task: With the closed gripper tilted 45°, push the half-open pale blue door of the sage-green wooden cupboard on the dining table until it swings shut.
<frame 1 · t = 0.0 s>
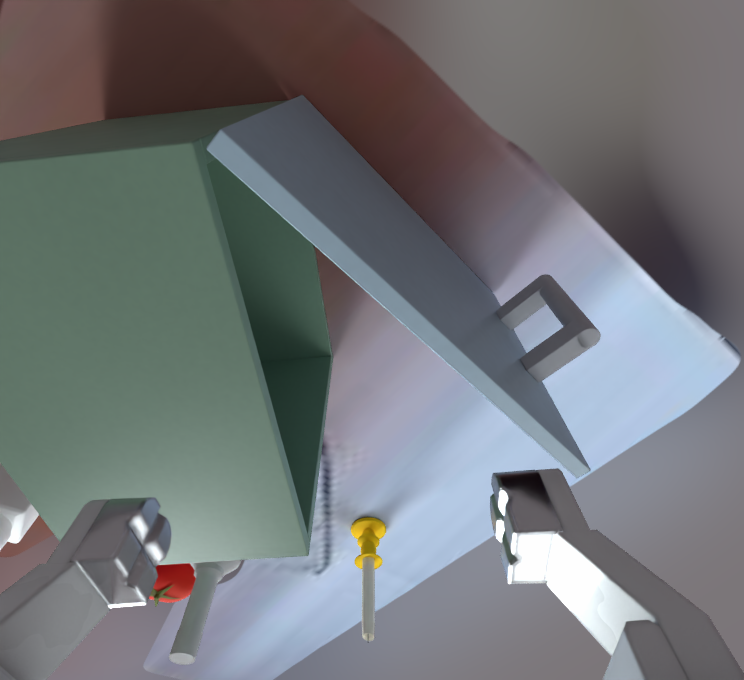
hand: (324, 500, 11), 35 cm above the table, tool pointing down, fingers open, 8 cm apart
cupboard: (235, 256, 44), on the table
bottle: (252, 435, 57), on the table
tomato: (185, 521, 66), on the table
medicine bottle: (28, 474, 60), on the table
shower door: (446, 229, 31), point 12 cm above the table, hinge at 40.0°
candle: (368, 526, 67), on the table
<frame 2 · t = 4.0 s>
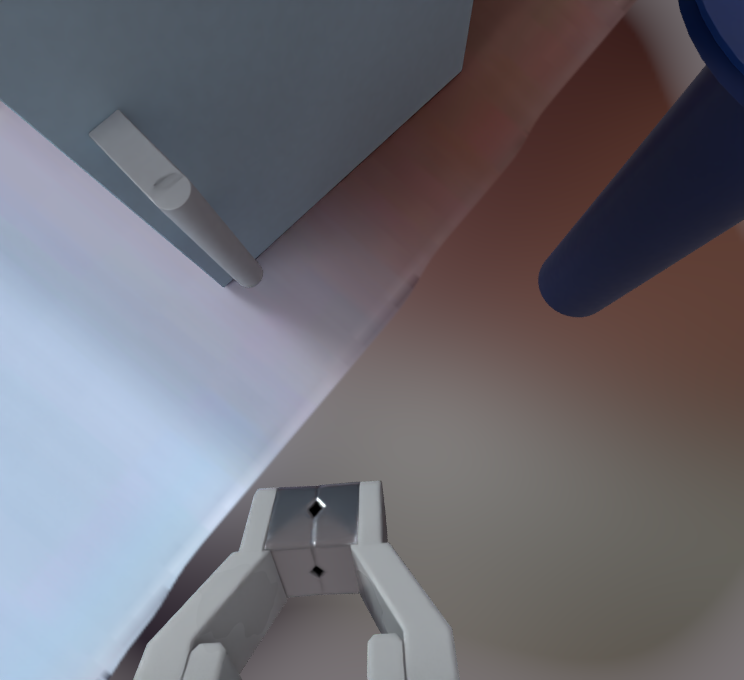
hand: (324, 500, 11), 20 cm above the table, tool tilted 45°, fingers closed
shower door: (349, 68, 23), point 12 cm above the table, hinge at 40.0°
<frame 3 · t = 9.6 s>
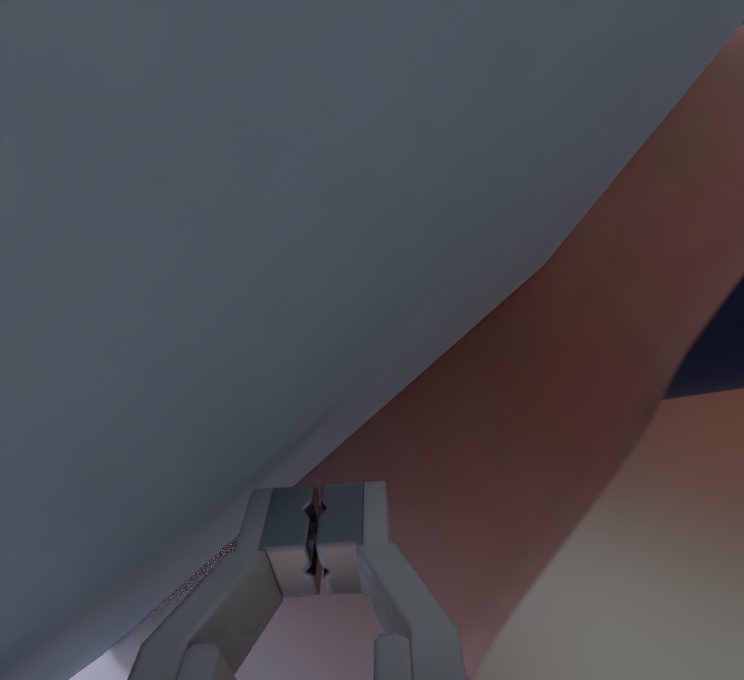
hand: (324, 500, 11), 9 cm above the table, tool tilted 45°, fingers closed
shower door: (317, 558, 8), point 12 cm above the table, hinge at 37.5°, touching gripper
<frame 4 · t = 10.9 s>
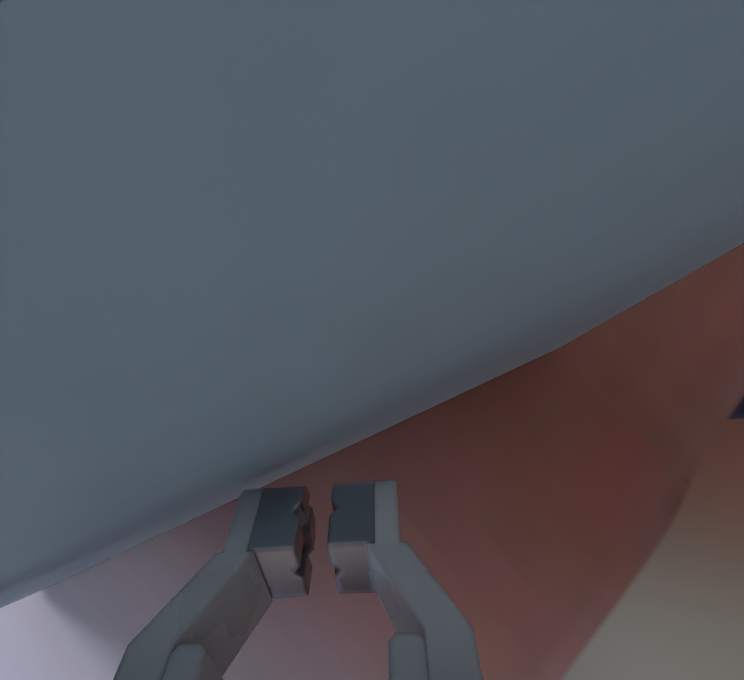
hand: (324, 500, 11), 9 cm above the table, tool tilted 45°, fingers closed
shower door: (194, 631, 8), point 12 cm above the table, hinge at 21.3°, touching gripper
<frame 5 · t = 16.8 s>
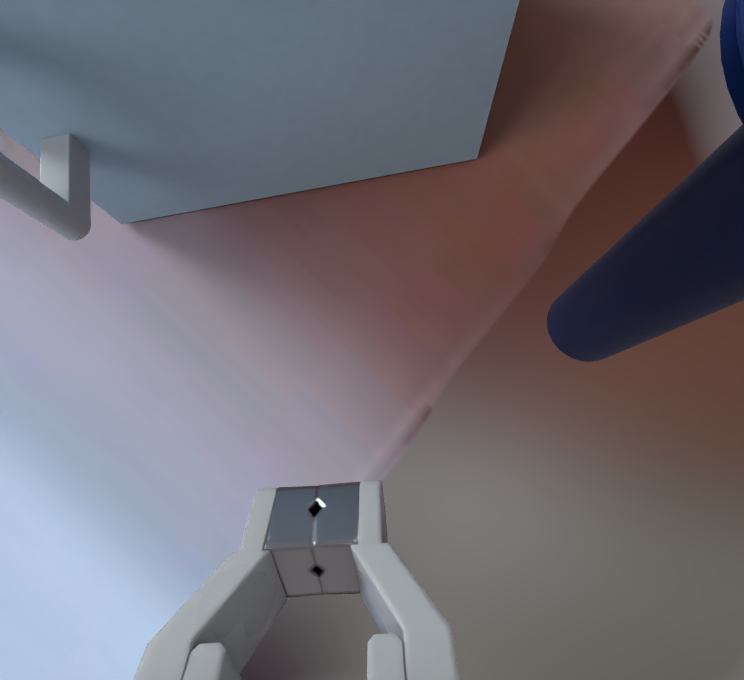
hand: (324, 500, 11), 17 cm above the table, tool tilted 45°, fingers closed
shower door: (244, 87, 20), point 12 cm above the table, hinge at 5.4°
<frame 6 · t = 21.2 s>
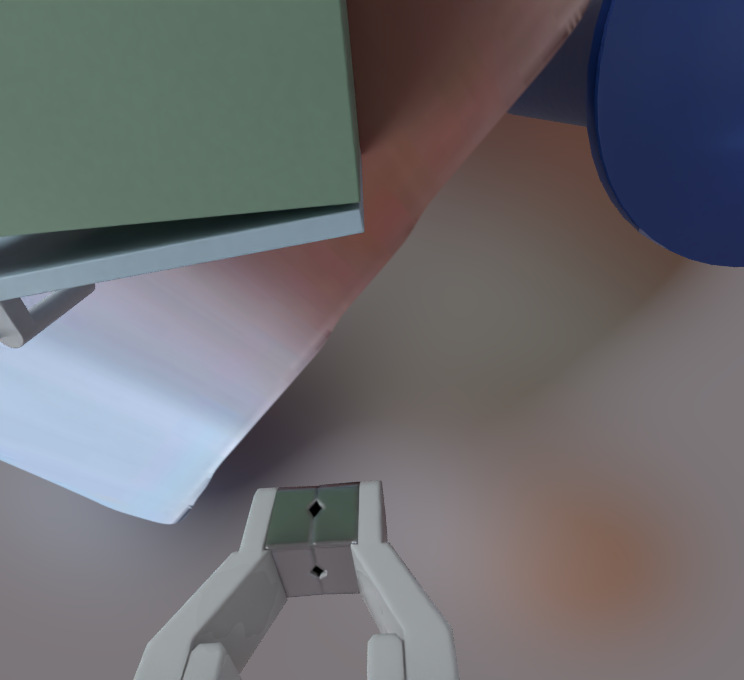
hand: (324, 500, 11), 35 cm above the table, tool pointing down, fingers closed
cupboard: (184, 46, 35), on the table
shower door: (183, 249, 31), point 12 cm above the table, hinge at 5.4°
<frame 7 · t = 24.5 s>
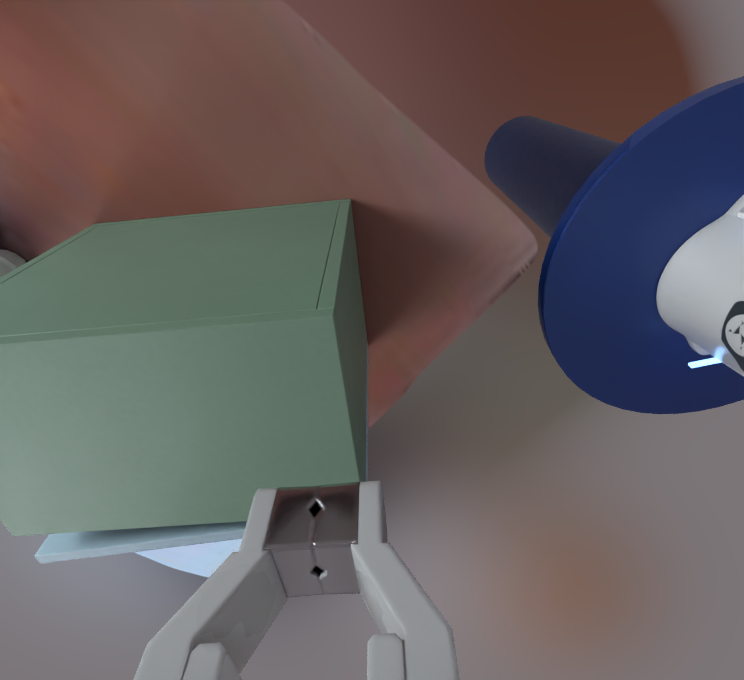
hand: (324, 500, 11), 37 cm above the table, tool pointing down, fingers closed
cupboard: (240, 284, 48), on the table
bottle: (11, 269, 47), on the table
shower door: (245, 449, 45), point 12 cm above the table, hinge at 5.4°
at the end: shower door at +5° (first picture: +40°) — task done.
